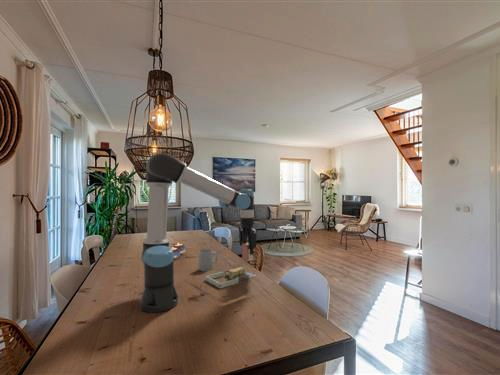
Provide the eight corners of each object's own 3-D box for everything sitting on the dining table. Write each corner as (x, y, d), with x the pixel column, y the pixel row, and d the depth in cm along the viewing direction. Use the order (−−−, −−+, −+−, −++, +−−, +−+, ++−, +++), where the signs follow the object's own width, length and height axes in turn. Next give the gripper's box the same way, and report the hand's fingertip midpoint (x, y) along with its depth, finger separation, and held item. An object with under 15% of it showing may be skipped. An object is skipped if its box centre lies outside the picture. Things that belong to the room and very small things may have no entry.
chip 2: (239, 277, 134) (239, 270, 134) (235, 275, 137) (235, 268, 137) (245, 276, 136) (245, 268, 136) (241, 274, 139) (241, 267, 139)
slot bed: (236, 283, 128) (236, 278, 128) (225, 278, 136) (225, 273, 136) (256, 277, 137) (256, 272, 137) (245, 272, 145) (245, 268, 145)
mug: (202, 272, 147) (201, 253, 147) (196, 268, 154) (196, 250, 154) (220, 268, 153) (220, 250, 153) (214, 265, 160) (214, 247, 160)
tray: (220, 290, 120) (220, 283, 120) (205, 282, 131) (205, 276, 131) (238, 285, 127) (238, 278, 127) (223, 277, 138) (223, 271, 138)
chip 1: (233, 279, 131) (233, 272, 131) (228, 277, 134) (228, 270, 134) (239, 278, 133) (239, 270, 133) (234, 276, 137) (234, 268, 137)
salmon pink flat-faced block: (246, 261, 137) (246, 244, 137) (242, 259, 140) (242, 243, 140) (252, 260, 139) (252, 243, 139) (247, 258, 142) (247, 242, 143)
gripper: (262, 217, 136) (263, 261, 135) (242, 215, 149) (243, 255, 149) (252, 219, 131) (252, 264, 131) (232, 216, 144) (233, 257, 144)
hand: (247, 259), depth 140 cm, fingers closed on salmon pink flat-faced block, 4 cm apart
